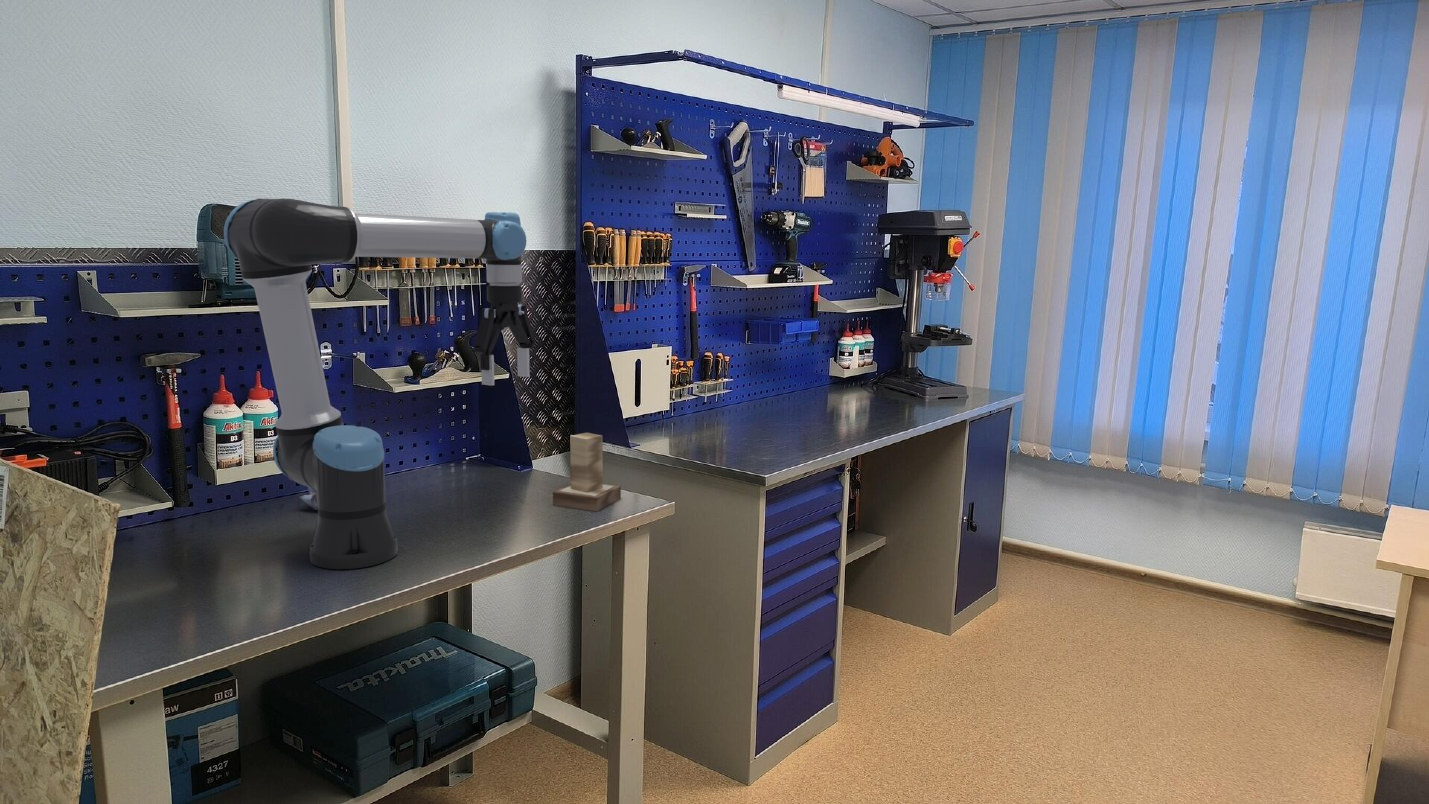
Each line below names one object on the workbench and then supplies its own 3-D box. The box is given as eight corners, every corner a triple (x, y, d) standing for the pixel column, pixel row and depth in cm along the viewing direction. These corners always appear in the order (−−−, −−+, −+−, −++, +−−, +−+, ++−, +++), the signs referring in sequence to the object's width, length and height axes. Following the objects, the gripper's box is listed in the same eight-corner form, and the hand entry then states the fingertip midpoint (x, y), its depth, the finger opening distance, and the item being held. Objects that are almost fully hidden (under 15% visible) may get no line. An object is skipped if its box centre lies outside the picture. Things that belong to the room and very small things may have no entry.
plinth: (596, 511, 203) (596, 497, 202) (552, 505, 207) (552, 491, 206) (620, 498, 213) (620, 485, 212) (578, 493, 217) (578, 479, 216)
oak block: (586, 492, 206) (586, 439, 204) (570, 488, 209) (570, 436, 207) (602, 488, 210) (602, 435, 208) (586, 484, 213) (586, 432, 211)
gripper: (521, 281, 217) (523, 372, 221) (454, 286, 194) (457, 387, 198) (549, 282, 214) (551, 374, 218) (484, 287, 192) (487, 390, 195)
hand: (506, 380), depth 208 cm, fingers open, 13 cm apart
